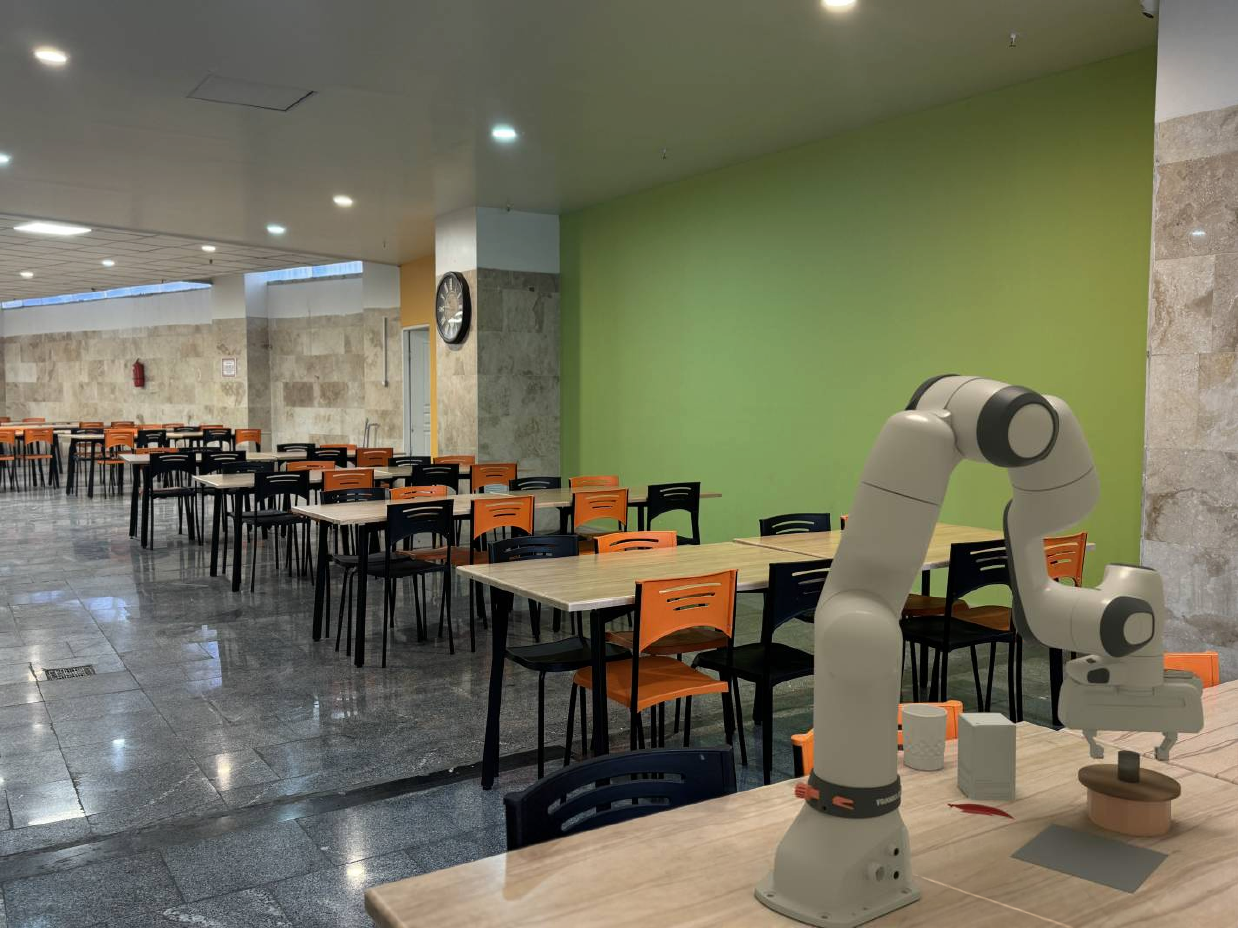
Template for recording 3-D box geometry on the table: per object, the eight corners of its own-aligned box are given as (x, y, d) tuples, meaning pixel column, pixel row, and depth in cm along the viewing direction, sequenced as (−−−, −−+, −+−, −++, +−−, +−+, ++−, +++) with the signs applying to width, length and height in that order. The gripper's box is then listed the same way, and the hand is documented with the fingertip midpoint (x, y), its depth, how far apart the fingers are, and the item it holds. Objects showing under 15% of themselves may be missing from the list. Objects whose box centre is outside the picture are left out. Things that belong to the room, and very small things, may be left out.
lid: (1170, 809, 142) (1171, 776, 142) (1067, 786, 151) (1067, 755, 151) (1188, 781, 153) (1189, 751, 153) (1091, 762, 162) (1091, 733, 161)
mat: (1132, 896, 128) (1132, 893, 128) (1009, 858, 140) (1009, 856, 140) (1168, 857, 140) (1168, 854, 140) (1052, 825, 151) (1052, 823, 151)
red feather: (938, 808, 159) (938, 796, 159) (954, 802, 162) (954, 790, 162) (1008, 832, 150) (1008, 819, 150) (1024, 824, 153) (1024, 812, 152)
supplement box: (1016, 802, 161) (1017, 725, 160) (970, 801, 161) (971, 724, 160) (1000, 785, 168) (1001, 711, 168) (956, 785, 168) (956, 711, 168)
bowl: (1156, 844, 144) (1157, 803, 144) (1077, 823, 152) (1078, 784, 152) (1178, 822, 152) (1178, 783, 152) (1102, 803, 160) (1102, 766, 160)
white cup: (892, 759, 181) (892, 705, 181) (929, 755, 183) (929, 701, 183) (917, 774, 173) (918, 717, 173) (955, 769, 176) (956, 713, 175)
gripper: (1193, 665, 153) (1191, 754, 154) (1055, 662, 155) (1053, 749, 156) (1213, 676, 147) (1210, 768, 147) (1069, 672, 149) (1067, 763, 150)
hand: (1129, 758), depth 152 cm, fingers open, 8 cm apart
